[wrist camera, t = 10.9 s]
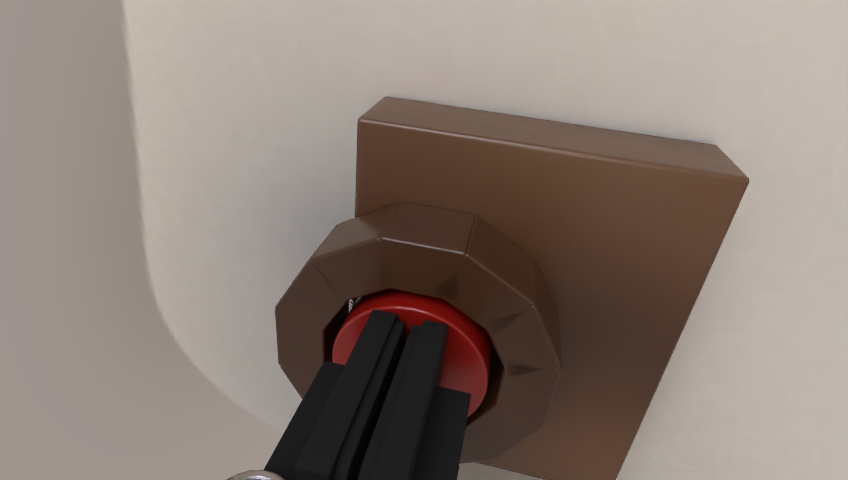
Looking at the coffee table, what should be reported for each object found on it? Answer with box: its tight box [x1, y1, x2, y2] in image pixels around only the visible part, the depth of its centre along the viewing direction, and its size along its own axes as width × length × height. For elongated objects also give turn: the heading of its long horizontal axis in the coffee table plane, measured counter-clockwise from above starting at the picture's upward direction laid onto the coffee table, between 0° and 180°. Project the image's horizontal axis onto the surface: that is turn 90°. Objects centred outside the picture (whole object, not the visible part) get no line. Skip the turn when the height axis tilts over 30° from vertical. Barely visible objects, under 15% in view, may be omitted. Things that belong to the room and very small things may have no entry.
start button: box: [332, 288, 493, 417], centre depth 12 cm, size 4×4×2 cm
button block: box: [275, 97, 749, 480], centre depth 13 cm, size 10×9×4 cm
